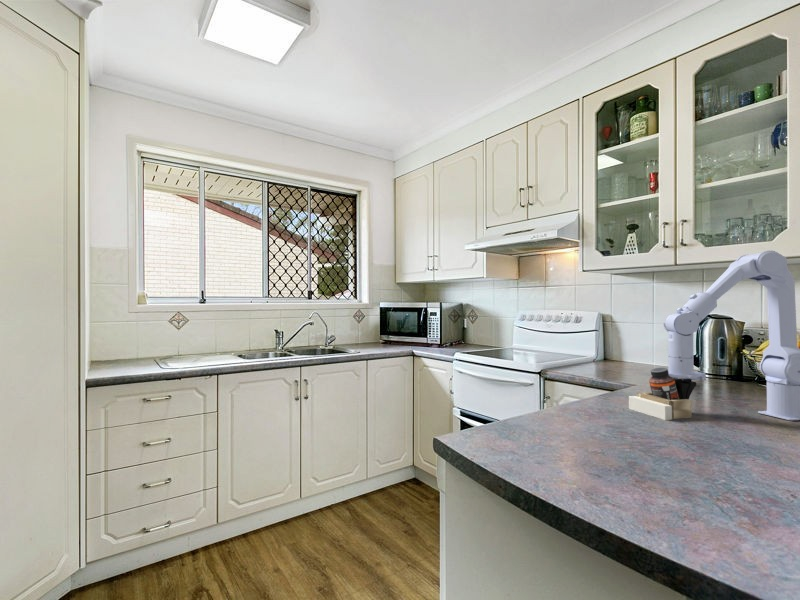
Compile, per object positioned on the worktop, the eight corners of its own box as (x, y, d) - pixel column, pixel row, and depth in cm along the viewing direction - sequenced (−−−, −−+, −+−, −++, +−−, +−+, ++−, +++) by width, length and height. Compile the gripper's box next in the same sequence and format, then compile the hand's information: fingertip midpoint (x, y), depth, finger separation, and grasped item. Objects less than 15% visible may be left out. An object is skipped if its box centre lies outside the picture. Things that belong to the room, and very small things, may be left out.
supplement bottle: (679, 414, 107) (669, 372, 107) (654, 413, 111) (643, 373, 111) (683, 405, 111) (673, 365, 111) (658, 405, 115) (648, 366, 115)
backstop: (634, 408, 116) (634, 395, 116) (671, 419, 104) (671, 405, 104) (628, 408, 115) (628, 396, 115) (665, 420, 103) (665, 406, 104)
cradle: (657, 407, 116) (657, 392, 116) (691, 417, 106) (691, 400, 106) (637, 409, 115) (637, 392, 115) (669, 418, 105) (668, 401, 105)
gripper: (671, 359, 107) (671, 412, 106) (716, 358, 110) (716, 409, 109) (649, 356, 113) (649, 405, 113) (692, 355, 117) (692, 403, 116)
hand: (681, 407), depth 112 cm, fingers closed
